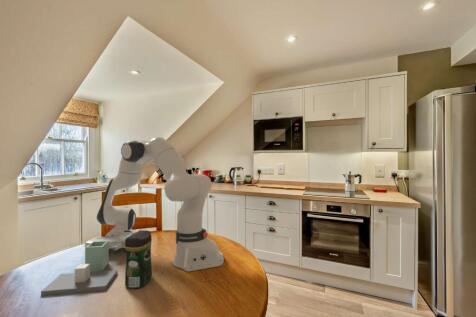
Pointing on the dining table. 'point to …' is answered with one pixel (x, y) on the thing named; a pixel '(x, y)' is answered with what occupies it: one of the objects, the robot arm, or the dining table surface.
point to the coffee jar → (138, 259)
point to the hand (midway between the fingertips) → (103, 249)
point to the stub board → (80, 287)
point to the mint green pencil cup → (97, 255)
